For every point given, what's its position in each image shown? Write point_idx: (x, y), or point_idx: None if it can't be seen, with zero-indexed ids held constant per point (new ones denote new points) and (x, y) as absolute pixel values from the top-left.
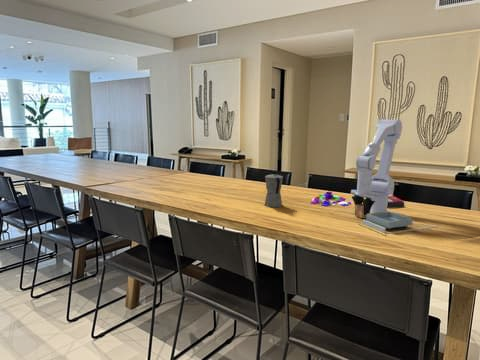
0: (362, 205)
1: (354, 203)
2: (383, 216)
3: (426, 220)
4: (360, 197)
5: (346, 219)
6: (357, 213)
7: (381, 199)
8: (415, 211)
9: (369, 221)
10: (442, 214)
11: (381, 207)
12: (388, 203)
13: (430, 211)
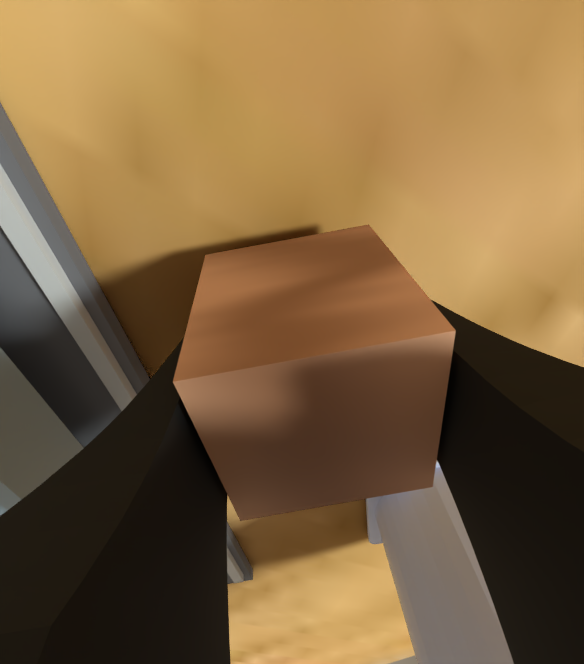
0: (330, 439)
1: (534, 353)
2: None
3: None
4: (551, 631)
5: (335, 10)
6: (310, 258)
7: (436, 660)
8: (369, 611)
9: (54, 293)
10: (290, 649)
11: (398, 556)
12: None
13: (346, 638)
